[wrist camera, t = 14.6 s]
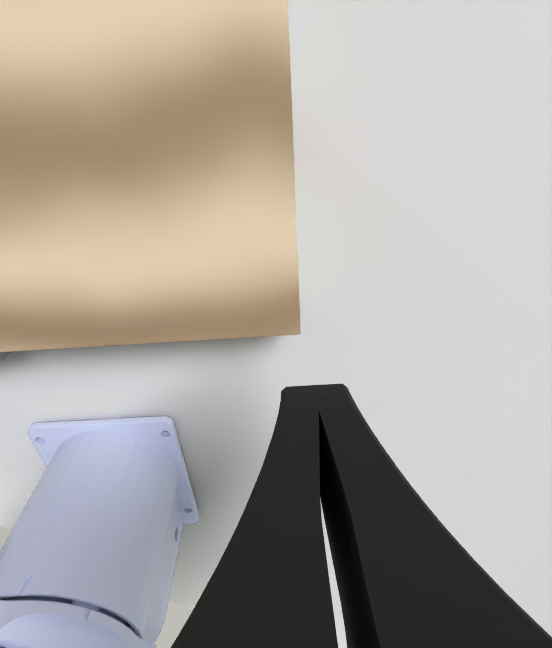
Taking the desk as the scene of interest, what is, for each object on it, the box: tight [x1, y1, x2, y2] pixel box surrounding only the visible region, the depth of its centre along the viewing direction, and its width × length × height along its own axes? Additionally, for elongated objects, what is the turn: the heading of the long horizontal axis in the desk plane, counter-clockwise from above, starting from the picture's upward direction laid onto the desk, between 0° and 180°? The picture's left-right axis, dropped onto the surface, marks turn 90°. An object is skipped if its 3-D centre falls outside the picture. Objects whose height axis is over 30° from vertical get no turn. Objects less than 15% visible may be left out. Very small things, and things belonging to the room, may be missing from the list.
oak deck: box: [0, 0, 300, 352], centre depth 14 cm, size 14×12×4 cm
